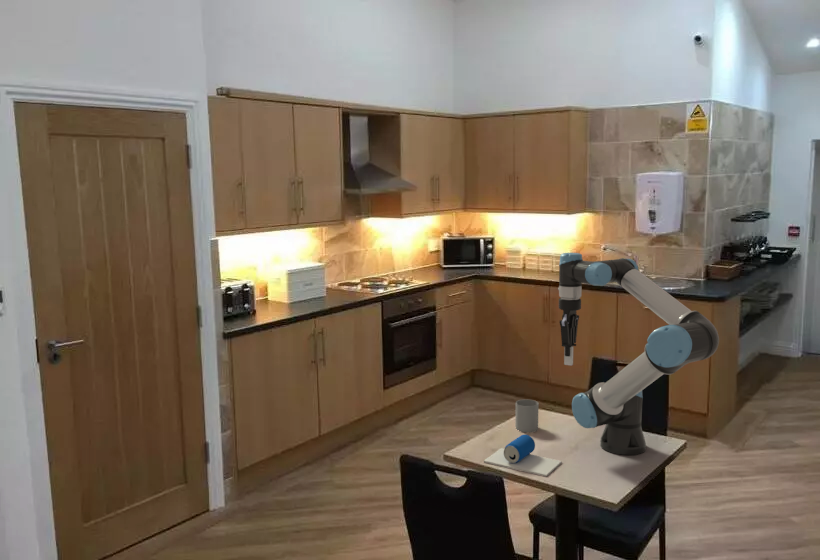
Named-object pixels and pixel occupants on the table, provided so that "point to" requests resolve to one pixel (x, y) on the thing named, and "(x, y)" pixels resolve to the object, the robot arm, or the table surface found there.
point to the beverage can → (519, 448)
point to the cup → (526, 415)
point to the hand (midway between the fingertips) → (568, 364)
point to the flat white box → (525, 463)
